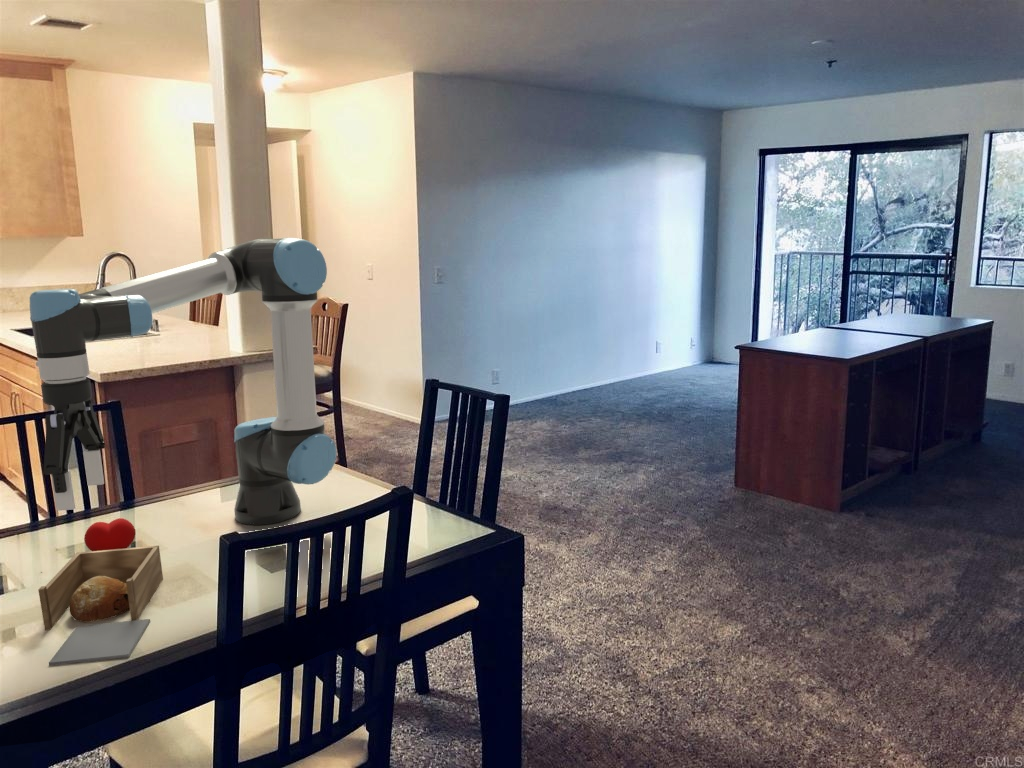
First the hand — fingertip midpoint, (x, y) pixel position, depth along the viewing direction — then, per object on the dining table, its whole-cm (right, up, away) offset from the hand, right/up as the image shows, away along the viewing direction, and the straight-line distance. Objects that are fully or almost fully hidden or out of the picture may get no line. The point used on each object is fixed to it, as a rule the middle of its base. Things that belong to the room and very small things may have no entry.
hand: (81, 496), depth 143 cm
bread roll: (+2, -21, +3) cm, 22 cm away
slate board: (+8, -23, -9) cm, 26 cm away
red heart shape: (-5, -18, +21) cm, 28 cm away
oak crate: (+2, -20, +6) cm, 21 cm away
